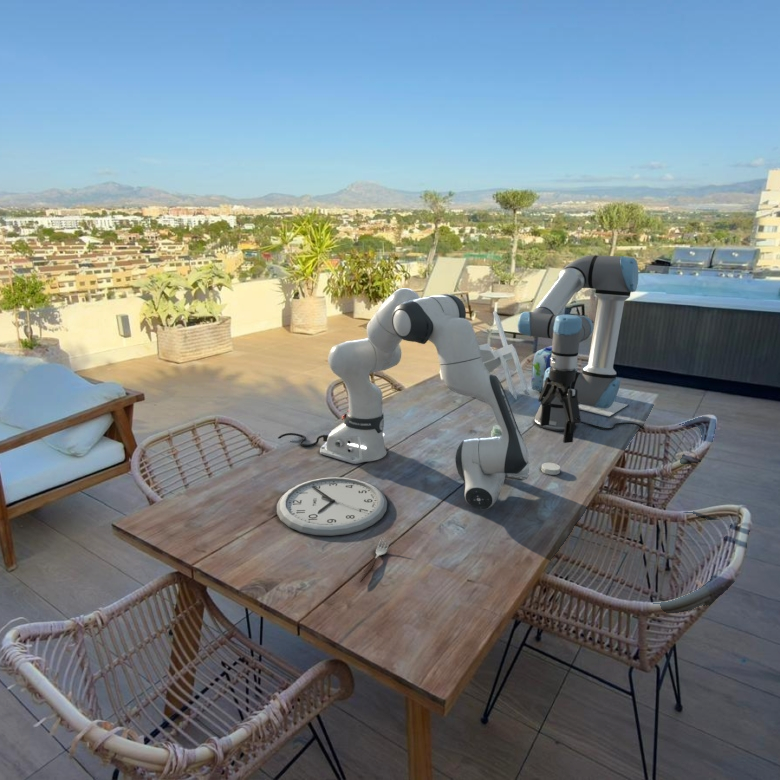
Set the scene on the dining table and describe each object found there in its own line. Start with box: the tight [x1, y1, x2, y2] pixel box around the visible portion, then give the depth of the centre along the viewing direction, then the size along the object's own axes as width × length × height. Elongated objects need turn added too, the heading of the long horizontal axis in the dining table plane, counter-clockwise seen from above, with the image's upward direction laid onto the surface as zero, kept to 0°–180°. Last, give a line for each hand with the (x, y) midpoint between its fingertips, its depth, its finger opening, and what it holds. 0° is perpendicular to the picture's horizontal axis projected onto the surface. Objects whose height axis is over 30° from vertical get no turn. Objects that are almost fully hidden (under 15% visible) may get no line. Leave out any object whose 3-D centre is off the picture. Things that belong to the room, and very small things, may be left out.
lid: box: [540, 462, 561, 476], centre depth 165 cm, size 6×6×2 cm
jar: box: [490, 424, 502, 437], centre depth 159 cm, size 5×5×16 cm
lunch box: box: [530, 345, 552, 392], centre depth 247 cm, size 26×11×21 cm, turn 134°
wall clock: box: [276, 476, 388, 537], centre depth 142 cm, size 30×2×30 cm
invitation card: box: [578, 401, 629, 418], centre depth 226 cm, size 21×1×15 cm
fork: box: [359, 536, 392, 583], centre depth 118 cm, size 3×16×2 cm, turn 160°
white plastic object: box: [438, 310, 531, 400], centre depth 245 cm, size 37×45×31 cm
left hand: (498, 454), depth 160 cm, fingers closed on jar, 5 cm apart
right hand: (555, 433), depth 162 cm, fingers open, 13 cm apart
